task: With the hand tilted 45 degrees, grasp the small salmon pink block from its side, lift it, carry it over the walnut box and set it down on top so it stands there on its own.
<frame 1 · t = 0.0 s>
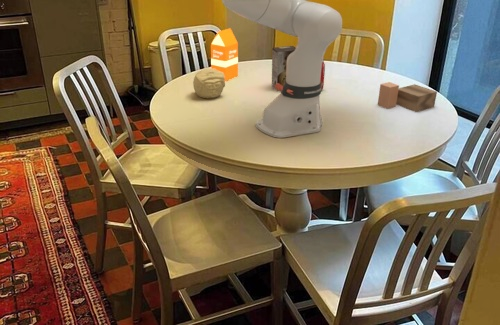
soda can: (314, 90, 192), on the table
sculpture: (209, 96, 185), on the table
salmon pink block: (386, 105, 176), on the table
orange juice: (224, 77, 206), on the table
coffee box: (284, 88, 193), on the table
walnut box: (413, 105, 177), on the table
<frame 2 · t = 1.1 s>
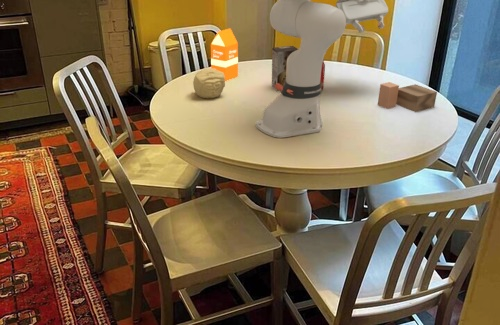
hand: (372, 29, 173), 25 cm above the table, tool tilted 45°, fingers open, 8 cm apart
nothing on the table moved.
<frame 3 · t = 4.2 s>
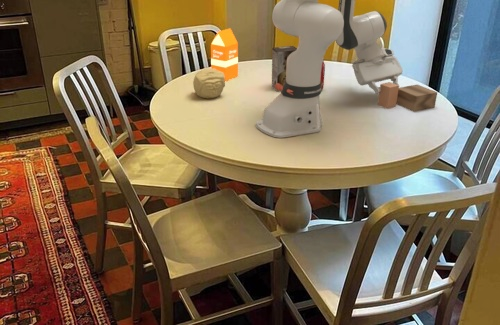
hand: (388, 90, 174), 6 cm above the table, tool tilted 45°, fingers open, 8 cm apart
walnut box: (414, 105, 177), on the table, touching gripper
everything else where it was.
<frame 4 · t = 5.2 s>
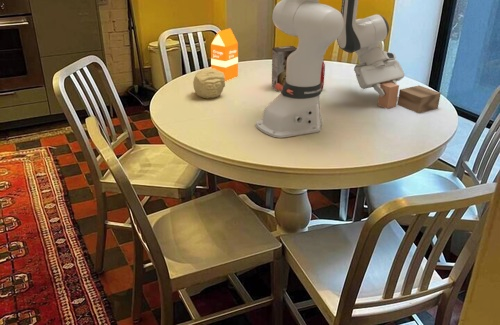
hand: (389, 94, 174), 5 cm above the table, tool tilted 45°, fingers closed on salmon pink block, 5 cm apart
salmon pink block: (386, 105, 176), on the table, touching gripper
walnut box: (417, 107, 176), on the table
everything else where it was.
when the fingers open (12 cm above the table, at t = 9.8 s): salmon pink block drops 1 cm, point 6 cm above the table.
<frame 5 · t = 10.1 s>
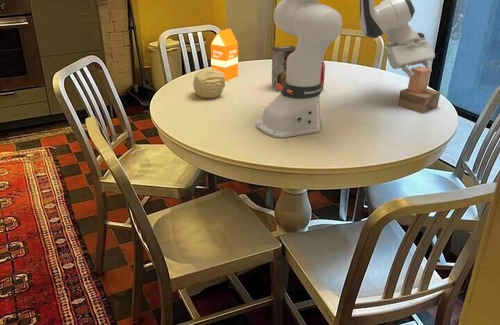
hand: (420, 74, 171), 12 cm above the table, tool tilted 45°, fingers open, 8 cm apart
salmon pink block: (416, 90, 174), point 6 cm above the table
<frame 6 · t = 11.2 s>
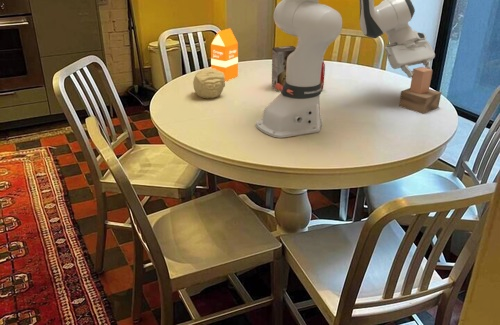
hand: (420, 74, 171), 12 cm above the table, tool tilted 45°, fingers open, 8 cm apart
salmon pink block: (419, 90, 174), point 6 cm above the table, touching walnut box
walnut box: (418, 107, 176), on the table, touching salmon pink block
everything else where it was.
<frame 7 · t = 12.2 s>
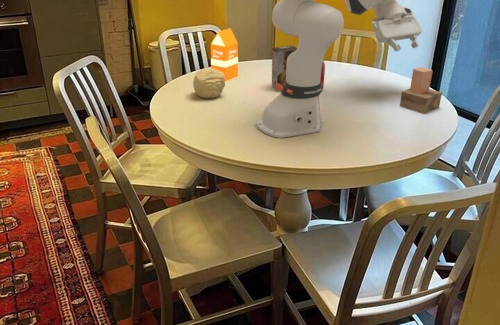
hand: (407, 48, 173), 19 cm above the table, tool tilted 45°, fingers open, 8 cm apart
nothing on the table moved.
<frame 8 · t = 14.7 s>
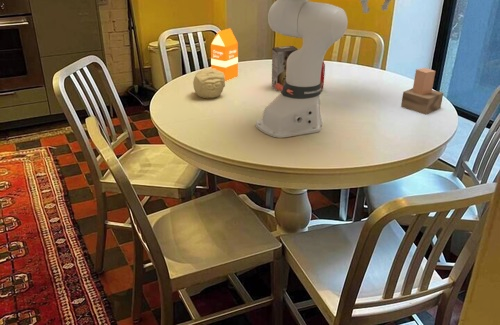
hand: (375, 11, 174), 31 cm above the table, tool pointing down, fingers open, 8 cm apart
salmon pink block: (421, 92, 173), point 6 cm above the table, touching walnut box
everything else where it was.
at the end: salmon pink block inside the target area on the walnut box (0.6 cm from its centre), point 6.0 cm above the walnut box's base; salmon pink block tilted 0°; the gripper is holding nothing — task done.
